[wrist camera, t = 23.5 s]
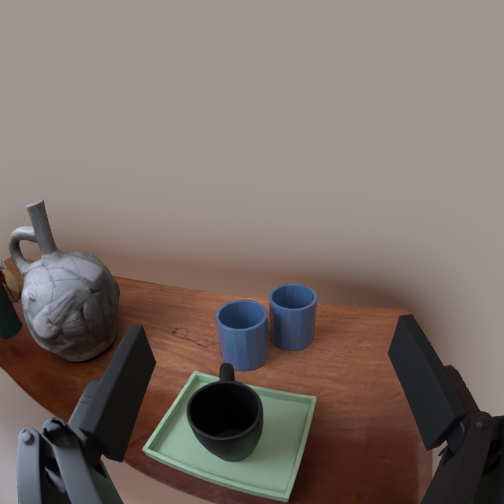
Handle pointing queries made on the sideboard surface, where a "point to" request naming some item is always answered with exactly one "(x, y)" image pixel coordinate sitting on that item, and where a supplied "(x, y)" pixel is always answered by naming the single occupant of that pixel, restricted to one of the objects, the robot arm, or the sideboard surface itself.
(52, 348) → the vessel
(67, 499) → the robot arm
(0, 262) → the angel figurine
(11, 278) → the seashell
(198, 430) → the mug
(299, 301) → the blue cup back
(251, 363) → the blue cup front
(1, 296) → the wine bottle
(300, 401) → the tray
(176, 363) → the sideboard surface
